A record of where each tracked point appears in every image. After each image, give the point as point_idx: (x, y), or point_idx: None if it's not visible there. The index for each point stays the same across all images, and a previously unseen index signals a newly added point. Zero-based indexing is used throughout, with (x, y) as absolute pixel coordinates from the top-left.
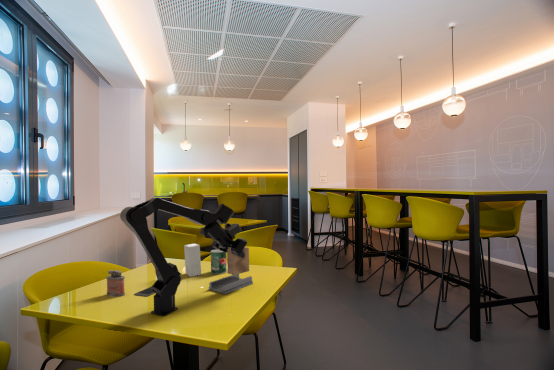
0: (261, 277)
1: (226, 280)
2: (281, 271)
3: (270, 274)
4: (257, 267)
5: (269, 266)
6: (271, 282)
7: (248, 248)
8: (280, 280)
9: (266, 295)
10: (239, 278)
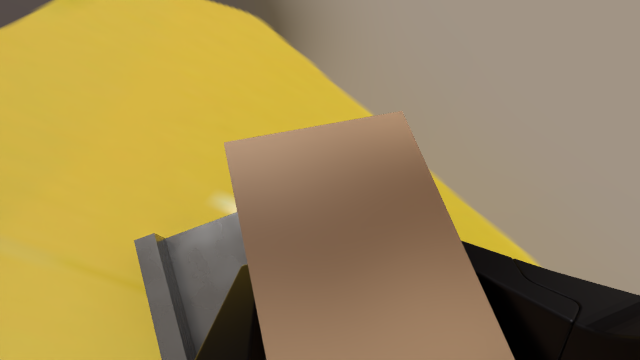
0: (212, 122)
1: (192, 353)
2: (193, 16)
3: (198, 70)
4: (17, 57)
5: (63, 9)
6: (313, 122)
7: (400, 123)
8: (310, 81)
9: (458, 214)
10: (176, 241)
